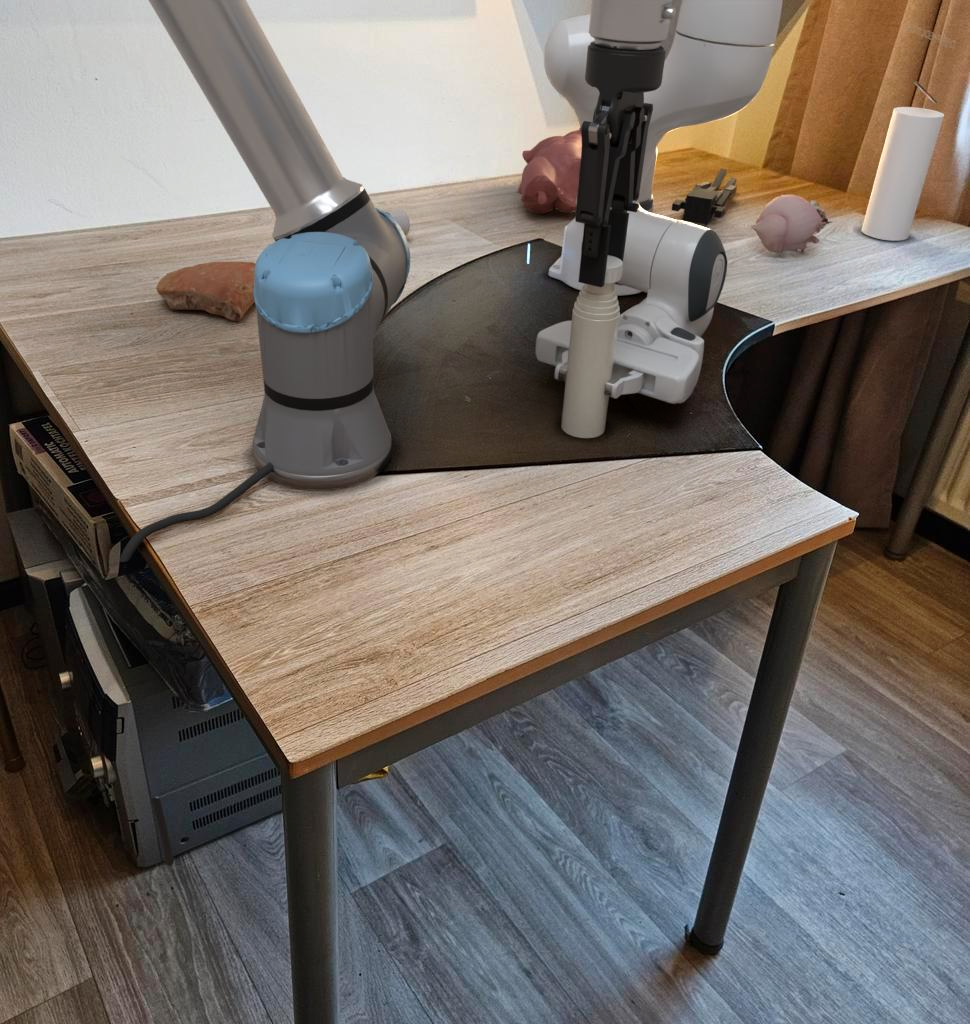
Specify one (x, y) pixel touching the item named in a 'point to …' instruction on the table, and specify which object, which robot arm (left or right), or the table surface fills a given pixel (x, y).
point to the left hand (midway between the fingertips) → (600, 276)
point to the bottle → (590, 360)
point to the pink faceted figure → (552, 174)
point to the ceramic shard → (211, 288)
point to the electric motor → (401, 219)
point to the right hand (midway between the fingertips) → (584, 383)
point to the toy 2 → (789, 223)
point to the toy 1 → (706, 200)
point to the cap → (613, 270)
